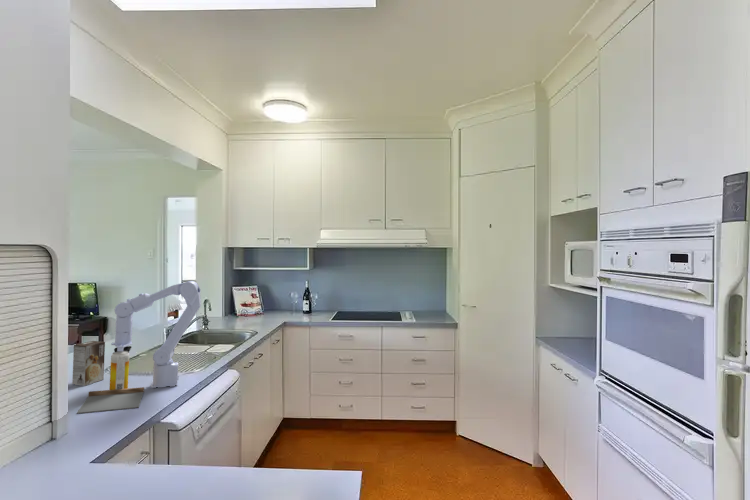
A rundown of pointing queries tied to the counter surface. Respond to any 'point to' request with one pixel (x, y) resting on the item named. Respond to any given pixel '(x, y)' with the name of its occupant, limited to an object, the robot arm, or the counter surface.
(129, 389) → the bar
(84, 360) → the coffee box
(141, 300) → the robot arm
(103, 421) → the counter surface
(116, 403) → the mat
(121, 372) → the beer can
